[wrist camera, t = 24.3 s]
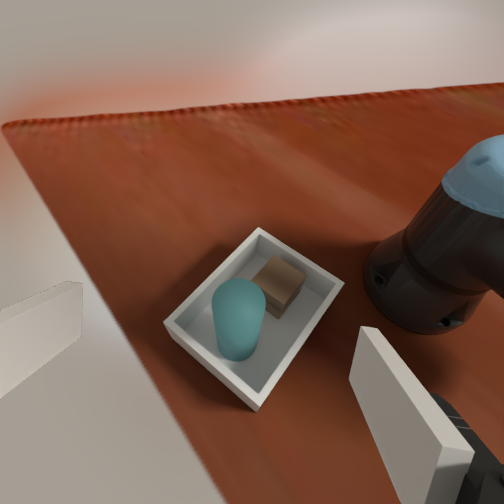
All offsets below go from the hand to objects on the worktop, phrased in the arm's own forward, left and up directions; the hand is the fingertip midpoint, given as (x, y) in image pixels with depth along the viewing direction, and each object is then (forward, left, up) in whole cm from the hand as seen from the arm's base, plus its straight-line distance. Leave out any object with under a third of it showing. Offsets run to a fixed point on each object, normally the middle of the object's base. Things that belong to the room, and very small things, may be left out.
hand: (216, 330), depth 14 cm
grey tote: (-10, -3, -25) cm, 27 cm away
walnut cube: (-14, -3, -24) cm, 28 cm away
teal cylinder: (-6, -3, -24) cm, 25 cm away
